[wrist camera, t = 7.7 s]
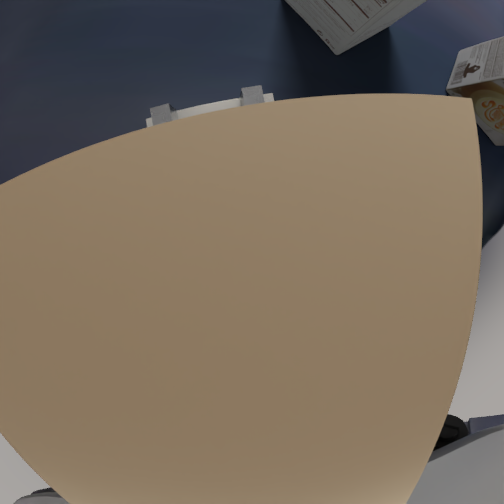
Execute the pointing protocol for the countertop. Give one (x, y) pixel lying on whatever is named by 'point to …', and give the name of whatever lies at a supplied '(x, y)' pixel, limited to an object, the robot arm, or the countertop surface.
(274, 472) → the door panel
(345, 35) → the supplement box
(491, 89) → the coffee box
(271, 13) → the countertop surface
